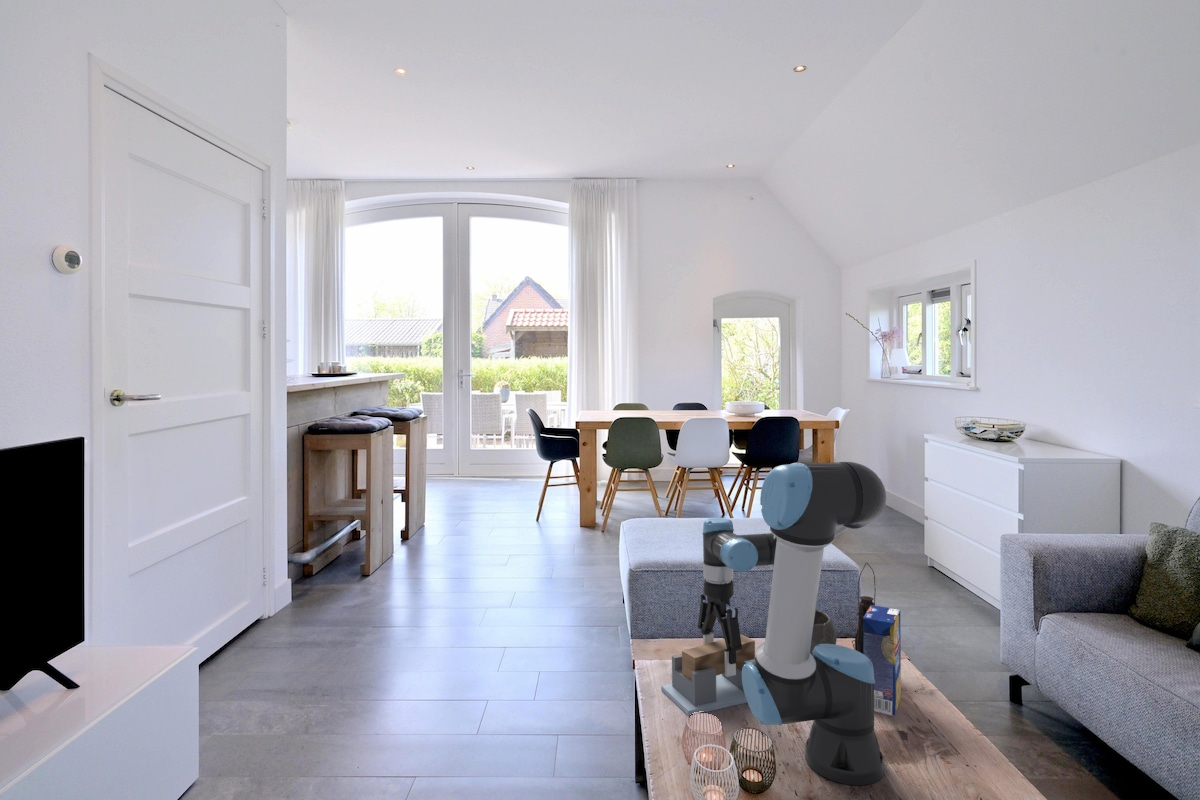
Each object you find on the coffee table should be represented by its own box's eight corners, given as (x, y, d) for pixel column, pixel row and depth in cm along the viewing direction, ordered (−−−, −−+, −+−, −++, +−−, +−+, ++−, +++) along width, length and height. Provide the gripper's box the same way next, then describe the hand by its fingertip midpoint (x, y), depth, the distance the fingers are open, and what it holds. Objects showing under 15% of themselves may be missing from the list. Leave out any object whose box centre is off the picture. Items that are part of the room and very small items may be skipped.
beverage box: (900, 697, 158) (900, 609, 157) (894, 716, 148) (894, 623, 148) (871, 690, 161) (871, 604, 161) (863, 708, 152) (863, 618, 152)
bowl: (846, 672, 172) (846, 626, 171) (779, 673, 172) (779, 626, 172) (823, 646, 189) (823, 604, 189) (763, 646, 190) (763, 604, 189)
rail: (741, 656, 168) (741, 634, 168) (755, 663, 164) (754, 640, 164) (682, 674, 158) (682, 650, 158) (695, 682, 154) (694, 658, 154)
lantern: (886, 680, 167) (886, 567, 166) (854, 678, 168) (853, 566, 168) (879, 667, 174) (878, 559, 174) (848, 665, 176) (848, 558, 176)
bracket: (778, 695, 159) (778, 659, 159) (688, 715, 150) (688, 678, 150) (746, 672, 172) (745, 639, 172) (661, 690, 163) (660, 655, 162)
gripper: (756, 590, 152) (757, 682, 152) (708, 566, 172) (708, 648, 173) (730, 594, 149) (731, 688, 149) (683, 570, 169) (684, 652, 170)
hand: (719, 667), depth 161 cm, fingers open, 9 cm apart
